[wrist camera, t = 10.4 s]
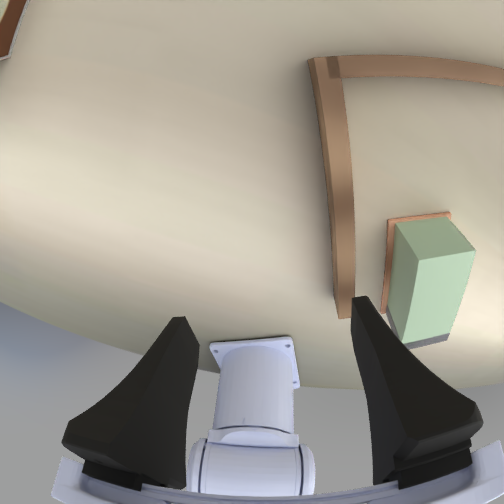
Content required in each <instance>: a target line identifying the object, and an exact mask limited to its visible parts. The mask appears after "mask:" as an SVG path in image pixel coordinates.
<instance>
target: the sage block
mask: <svg viewBox="0 0 504 504" xmlns="http://www.w3.org/2000/svg"><path fill="white" fill-rule="evenodd" d="M475 252H476V250H475V248H474V247H473V246H472V245H471V244H470V242H469V241H468V240H467V239H466V238H465V236H464V235H463V234H462V233H461V232H460V231H459V230H458V228H457V227H456V226H455V225H454V224H453V223H452V222H451V221H450V219H449V218H448V217H447V216H446V217H438V218H430V219H422V220H414V221H406V222H398V223H395V234H394V248H393V259H392V269H391V278H390V287H389V295H388V302H387V307H386V314H387V317H388V320H389V323H390V326H391V329H392V331H393V332H394V334H395V335H396V336H397V337H398V338H399V340H400V341H401V342H402V343H403V344H404V345H405V346H406V347H407V348H408V350H409V349H413V348H418V347H422V346H426V345H430V344H434V343H438V342H442V341H446V340H447V339H448V336H449V334H450V331H451V328H452V325H453V323H454V320H455V317H456V315H457V312H458V309H459V306H460V303H461V300H462V297H463V294H464V291H465V288H466V285H467V282H468V278H469V275H470V271H471V268H472V264H473V260H474V256H475Z"/></svg>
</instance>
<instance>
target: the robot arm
mask: <svg viewBox="0 0 504 504" xmlns="http://www.w3.org/2000/svg"><path fill="white" fill-rule="evenodd" d="M351 335H352V341H353V347H354V352H355V356H356V360H357V363H358V367H359V371H360V375H361V378H362V382H363V386H364V390H365V394H366V398H367V405H368V412H369V421H370V431H371V441H372V457H373V486H369V487H364V488H359V489H353V490H347V491H340V492H332V493H323V494H313V492H314V485H315V462H314V457H313V453H312V452H311V450H310V449H309V448H308V447H307V446H306V445H305V444H299V435H298V434H294V414H293V413H294V412H293V411H294V410H293V389H296V388H299V387H300V382H299V375H298V369H297V363H296V357H295V351H294V346H293V340H292V338H291V337H277V338H267V339H256V340H244V341H231V342H215V343H211V344H210V347H209V348H210V350H211V352H212V354H213V356H214V358H215V360H216V362H217V364H218V366H219V368H220V370H221V372H220V380H219V386H218V394H217V401H216V407H215V414H214V422H213V429H210V430H209V432H208V439H206V438H200V439H199V440H198V441H197V442H196V443H194V444H193V446H192V448H191V451H190V455H189V460H188V466H187V474H186V465H185V451H186V449H185V448H186V428H187V417H188V410H189V404H190V399H191V395H192V390H193V386H194V381H195V376H196V372H197V367H198V359H199V347H200V345H199V343H198V341H197V339H196V337H195V335H194V333H193V331H192V329H191V327H190V325H189V323H188V321H187V319H186V317H185V316H184V317H173V318H172V319H171V320H170V322H169V323H168V324H167V326H166V327H165V328H164V330H163V331H162V333H161V334H160V335H159V337H158V338H157V339H156V341H155V342H154V343H153V345H152V346H151V347H150V349H149V350H148V351H147V353H146V354H145V355H144V356H143V358H142V359H141V360H140V362H139V363H138V364H137V365H136V366H135V368H134V369H133V370H132V371H131V372H130V373H129V374H128V375H127V376H126V378H124V379H123V380H122V381H121V382H120V384H118V386H116V387H115V388H114V389H113V390H112V391H111V392H110V393H108V394H107V395H106V396H105V397H104V398H103V399H102V400H100V401H99V402H97V403H96V404H95V405H94V406H92V407H91V408H89V409H88V410H86V411H85V412H83V413H82V414H80V415H79V416H77V417H75V418H74V419H72V420H70V421H69V422H68V425H67V428H66V430H65V433H64V436H63V439H62V444H63V446H64V447H66V448H67V449H69V450H70V451H71V452H73V453H75V454H77V455H78V456H80V457H81V458H83V459H85V463H84V464H82V463H80V462H77V461H75V460H72V459H69V458H67V457H64V456H63V457H62V459H61V462H60V465H59V468H58V472H57V475H56V479H55V482H54V486H53V489H52V493H51V496H52V497H53V498H55V499H57V500H59V501H61V502H63V503H65V504H171V503H173V504H364V503H367V504H486V503H488V502H490V501H492V500H494V499H496V498H497V497H499V496H501V495H503V494H504V454H503V450H502V447H501V443H500V440H497V441H495V442H493V443H491V444H489V445H487V446H484V447H482V448H480V449H478V450H476V451H474V452H472V453H470V449H469V448H470V447H471V445H472V444H471V440H470V438H471V437H472V436H473V435H474V434H475V433H476V432H477V431H478V430H479V429H480V428H481V427H482V425H483V419H482V416H481V413H480V411H479V409H478V407H477V405H476V403H475V402H474V401H472V400H470V399H469V398H467V397H465V396H464V395H462V394H461V393H459V392H458V391H456V390H455V389H453V388H452V387H451V386H449V385H448V384H446V383H445V382H444V381H443V380H441V379H440V378H439V377H438V376H436V375H435V374H434V373H433V372H431V371H430V370H429V369H428V368H427V367H426V366H425V365H424V364H422V363H421V362H420V361H419V360H418V359H417V358H416V357H415V356H414V355H413V354H412V353H411V352H410V351H409V350H408V348H407V347H406V346H405V345H404V344H403V343H402V342H401V341H400V340H399V338H398V337H397V336H396V335H395V334H394V332H393V331H392V330H391V329H390V327H389V326H388V325H387V324H386V322H385V321H384V320H383V318H382V317H381V315H380V314H379V313H378V311H377V310H376V308H375V307H374V306H373V304H372V302H371V301H370V299H369V298H368V297H367V296H360V297H354V298H352V308H351ZM164 487H166V488H164ZM185 487H186V490H187V491H182V490H181V489H183V488H185ZM169 488H173V489H169ZM175 489H178V490H175ZM179 489H180V490H179Z"/></svg>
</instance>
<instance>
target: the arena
mask: <svg viewBox="0 0 504 504" xmlns="http://www.w3.org/2000/svg"><path fill="white" fill-rule="evenodd" d="M308 64H309V69H310V74H311V80H312V85H313V91H314V97H315V103H316V109H317V116H318V122H319V129H320V136H321V143H322V151H323V159H324V167H325V176H326V186H327V195H328V206H329V218H330V230H331V245H332V261H333V282H334V299H335V304H336V309H337V314H338V319H345V318H351V308H352V298H354V297H355V220H354V196H353V179H352V166H351V154H350V143H349V134H348V125H347V116H346V108H345V101H344V94H343V87H342V81H341V78H349V77H373V76H407V77H430V78H444V79H455V80H464V81H473V82H480V83H486V84H493V85H498V86H504V69H501V68H497V67H492V66H487V65H482V64H477V63H471V62H465V61H458V60H450V59H442V58H432V57H420V56H403V55H349V56H331V57H318V58H312V59H309V60H308ZM446 216H447V217H448V218H449V219H451V213H450V212H445V213H437V214H429V215H421V216H413V217H405V218H397V219H389V220H388V228H387V248H386V262H385V274H384V285H383V294H382V303H381V311H380V312H381V314H384V313H386V307H387V302H388V295H389V287H390V278H391V269H392V259H393V248H394V234H395V223H398V222H406V221H414V220H422V219H430V218H438V217H446Z"/></svg>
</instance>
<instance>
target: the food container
mask: <svg viewBox="0 0 504 504" xmlns="http://www.w3.org/2000/svg"><path fill="white" fill-rule="evenodd" d="M29 1H30V0H0V61H1V60H4V59H7V58H10V57H11V53H12V50H13V46H14V43H15V40H16V37H17V33H18V30H19V28H20V25H21V22H22V19H23V16H24V14H25V11H26V9H27V6H28V4H29Z"/></svg>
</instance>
